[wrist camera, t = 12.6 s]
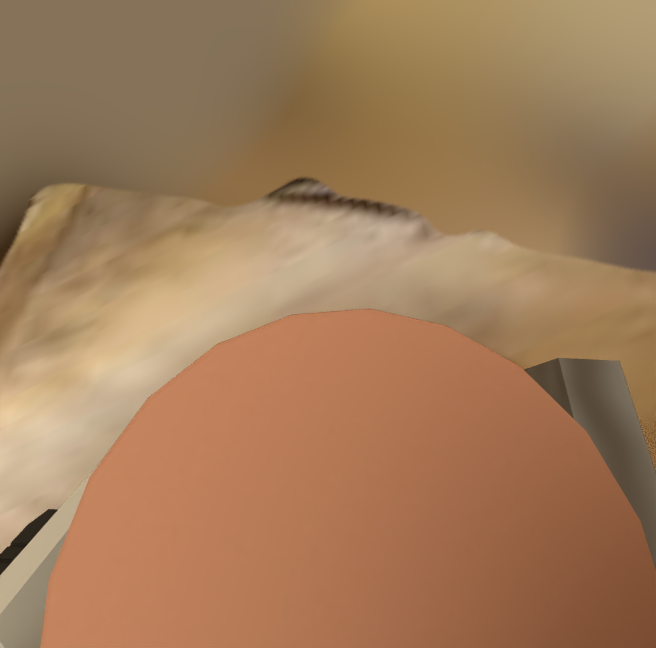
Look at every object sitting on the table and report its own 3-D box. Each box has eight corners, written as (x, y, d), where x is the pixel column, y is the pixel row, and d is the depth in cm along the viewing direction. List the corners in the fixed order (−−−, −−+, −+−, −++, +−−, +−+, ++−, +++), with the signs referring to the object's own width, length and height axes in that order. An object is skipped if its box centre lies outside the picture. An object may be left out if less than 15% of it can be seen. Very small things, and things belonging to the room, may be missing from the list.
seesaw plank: (545, 369, 31) (615, 348, 25) (592, 567, 26) (699, 609, 19) (266, 357, 29) (259, 330, 22) (247, 574, 23) (229, 625, 16)
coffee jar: (231, 433, 23) (-53, 494, 6) (355, 356, 25) (425, 221, 7) (307, 581, 21) (212, 1442, 3) (439, 485, 22) (837, 740, 5)
